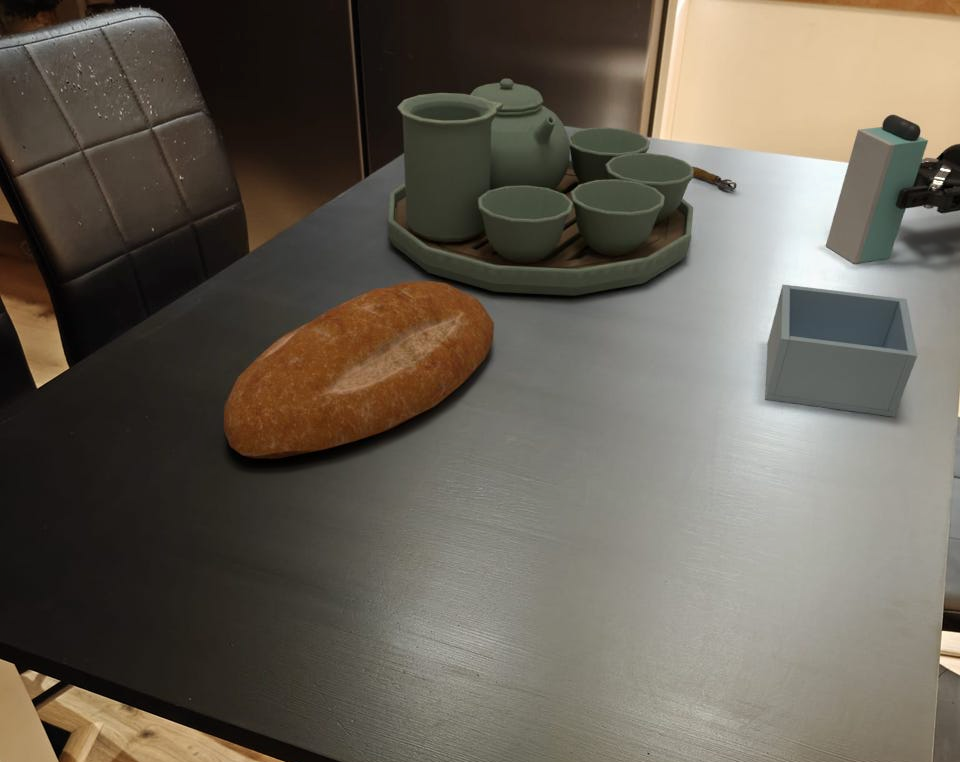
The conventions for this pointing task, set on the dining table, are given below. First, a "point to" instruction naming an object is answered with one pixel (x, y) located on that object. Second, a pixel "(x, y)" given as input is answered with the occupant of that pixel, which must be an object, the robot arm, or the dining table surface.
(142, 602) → the dining table surface
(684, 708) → the dining table surface
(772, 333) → the basket
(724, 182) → the can opener
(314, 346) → the bread
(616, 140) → the tea set
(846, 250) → the knobbed tall block
